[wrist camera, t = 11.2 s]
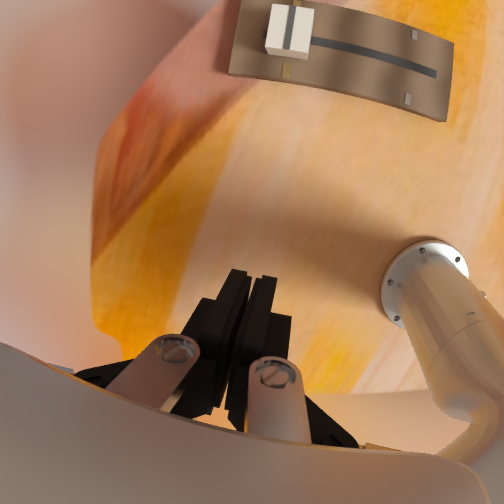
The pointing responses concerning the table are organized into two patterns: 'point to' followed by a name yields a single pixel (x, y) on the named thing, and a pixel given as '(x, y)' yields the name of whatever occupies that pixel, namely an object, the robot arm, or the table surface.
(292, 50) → the fader knob
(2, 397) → the robot arm
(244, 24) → the fader board
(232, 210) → the table surface
